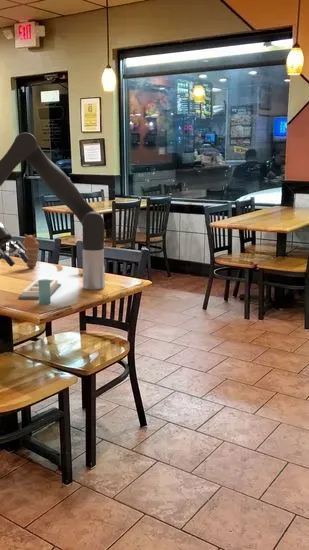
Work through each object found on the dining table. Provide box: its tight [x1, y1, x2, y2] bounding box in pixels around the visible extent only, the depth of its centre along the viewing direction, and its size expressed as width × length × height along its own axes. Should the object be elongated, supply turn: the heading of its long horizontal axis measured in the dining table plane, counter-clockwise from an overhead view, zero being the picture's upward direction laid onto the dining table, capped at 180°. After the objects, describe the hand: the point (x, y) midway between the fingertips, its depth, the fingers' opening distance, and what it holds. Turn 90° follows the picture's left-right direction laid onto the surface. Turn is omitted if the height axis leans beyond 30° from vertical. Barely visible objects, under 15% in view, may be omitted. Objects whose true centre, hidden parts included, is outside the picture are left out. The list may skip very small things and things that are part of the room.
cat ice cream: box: [21, 233, 40, 269], centre depth 274 cm, size 9×8×18 cm
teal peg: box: [38, 279, 52, 305], centre depth 208 cm, size 4×4×9 cm
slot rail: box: [18, 278, 62, 300], centre depth 226 cm, size 12×25×3 cm, turn 178°
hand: (20, 263), depth 211 cm, fingers open, 8 cm apart
